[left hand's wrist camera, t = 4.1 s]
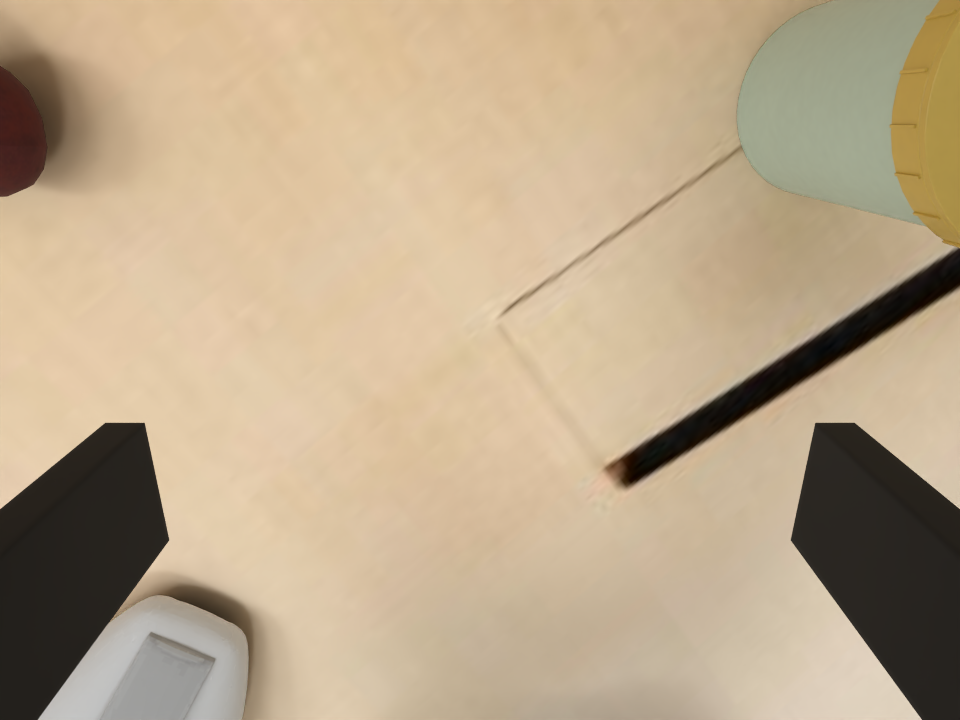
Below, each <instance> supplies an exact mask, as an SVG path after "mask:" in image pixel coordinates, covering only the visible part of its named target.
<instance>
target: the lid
mask: <svg viewBox="0 0 960 720" xmlns="http://www.w3.org/2000/svg"><path fill="white" fill-rule="evenodd" d="M925 19H926V21H925V23H924V24H923V26H922V28H921V30H920V31H919V33H918V35H917V37H916V38H915V40H914V43H913V45H912V47H911V49H910V52H909V54H908V56H907V58H906V61H905V63H904V66H903V69H902V70H901V71H900V73H899V74H901V76H900V79H899V82H898V85H897V89H896V94H895V99H894V104H893V109H892V122H891V124H890V126H889V128H891V146H892V157H893V161H894V167H895V172H896V173H894V175H895V176H897V178H898V181H899V184H900V186H901V189H902V192H903V194H904V195H905V197H906V199H907V201H908V203H909V205H910V206H911V208H912V210H913V211H914V212H913V215H915V216H918V217H919V218H920V220H921V221H922V222H923V223H924V224H925V225H926V226H927V227H928V228H929V229H930V230H931V231H932V232H934V233H935V234H936V235H937V236H939V237H940V238H942V239H943V241H942V242H943V243H946V244H949V245H953V246H956V247H958V248H960V0H939V2H938V3H937V4H936V6H935V7H934V9H933V10H932V11H931V13H930V14H929V15H927V16H926V17H925Z"/></svg>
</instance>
